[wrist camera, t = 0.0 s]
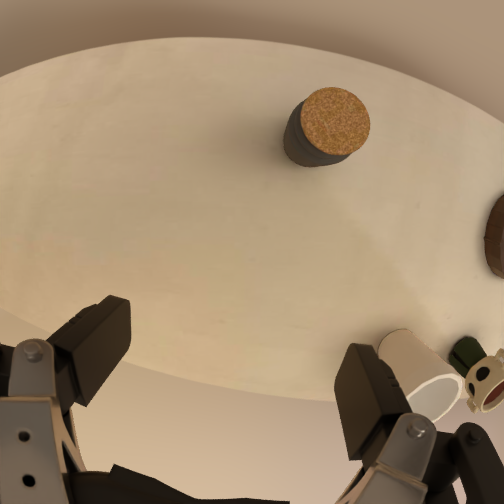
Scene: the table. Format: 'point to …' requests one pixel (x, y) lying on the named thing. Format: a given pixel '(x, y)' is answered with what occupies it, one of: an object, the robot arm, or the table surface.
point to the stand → (495, 239)
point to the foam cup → (421, 374)
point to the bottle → (326, 128)
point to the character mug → (479, 374)
